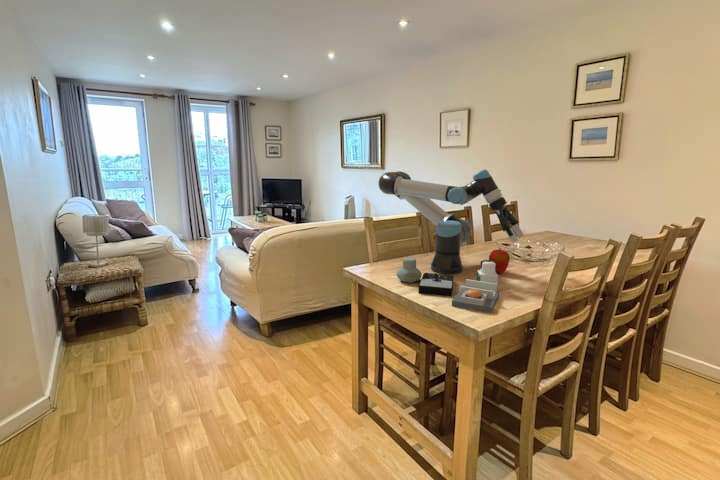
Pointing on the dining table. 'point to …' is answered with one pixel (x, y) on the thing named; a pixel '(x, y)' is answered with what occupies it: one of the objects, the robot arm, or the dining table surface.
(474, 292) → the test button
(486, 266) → the medicine bottle
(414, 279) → the air freshener
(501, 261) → the apple
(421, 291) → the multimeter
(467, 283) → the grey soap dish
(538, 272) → the dining table surface
